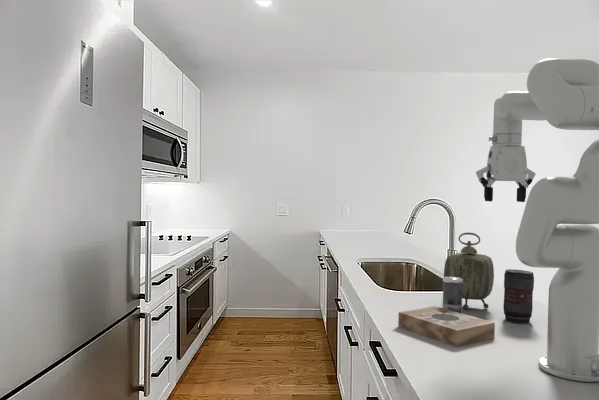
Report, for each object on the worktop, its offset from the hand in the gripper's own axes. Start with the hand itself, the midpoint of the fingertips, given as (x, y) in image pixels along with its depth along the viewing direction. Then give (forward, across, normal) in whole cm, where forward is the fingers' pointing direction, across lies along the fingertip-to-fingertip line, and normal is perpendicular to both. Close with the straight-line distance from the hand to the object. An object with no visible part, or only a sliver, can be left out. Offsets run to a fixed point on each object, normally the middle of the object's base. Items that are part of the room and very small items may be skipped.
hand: (504, 201), depth 134 cm
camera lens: (+36, +8, +5) cm, 37 cm away
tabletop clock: (+36, 0, +21) cm, 42 cm away
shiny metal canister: (+36, -11, +9) cm, 38 cm away
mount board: (+36, -19, -6) cm, 41 cm away
